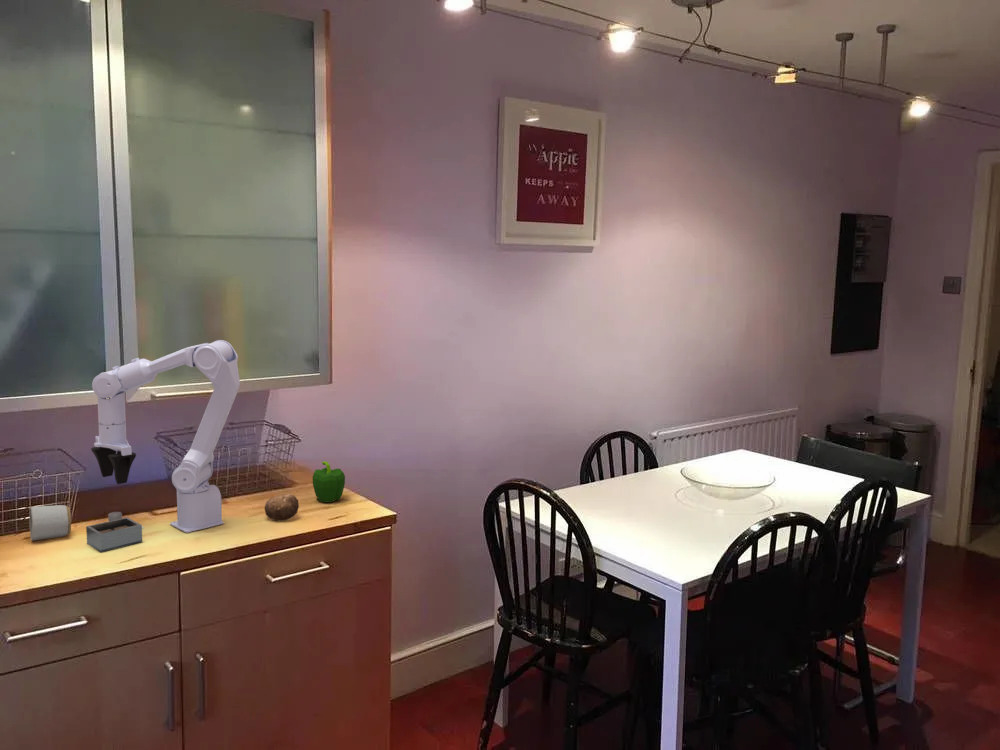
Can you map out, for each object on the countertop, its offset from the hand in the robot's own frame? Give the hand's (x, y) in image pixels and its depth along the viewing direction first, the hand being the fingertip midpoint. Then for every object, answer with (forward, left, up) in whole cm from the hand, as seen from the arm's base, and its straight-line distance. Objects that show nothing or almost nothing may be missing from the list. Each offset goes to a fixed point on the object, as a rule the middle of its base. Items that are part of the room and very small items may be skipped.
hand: (114, 479), depth 194 cm
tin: (+6, +13, -10) cm, 18 cm away
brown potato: (-30, +23, -11) cm, 39 cm away
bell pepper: (-47, +19, -11) cm, 52 cm away
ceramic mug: (+14, -1, -11) cm, 18 cm away
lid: (+2, +5, -11) cm, 12 cm away
